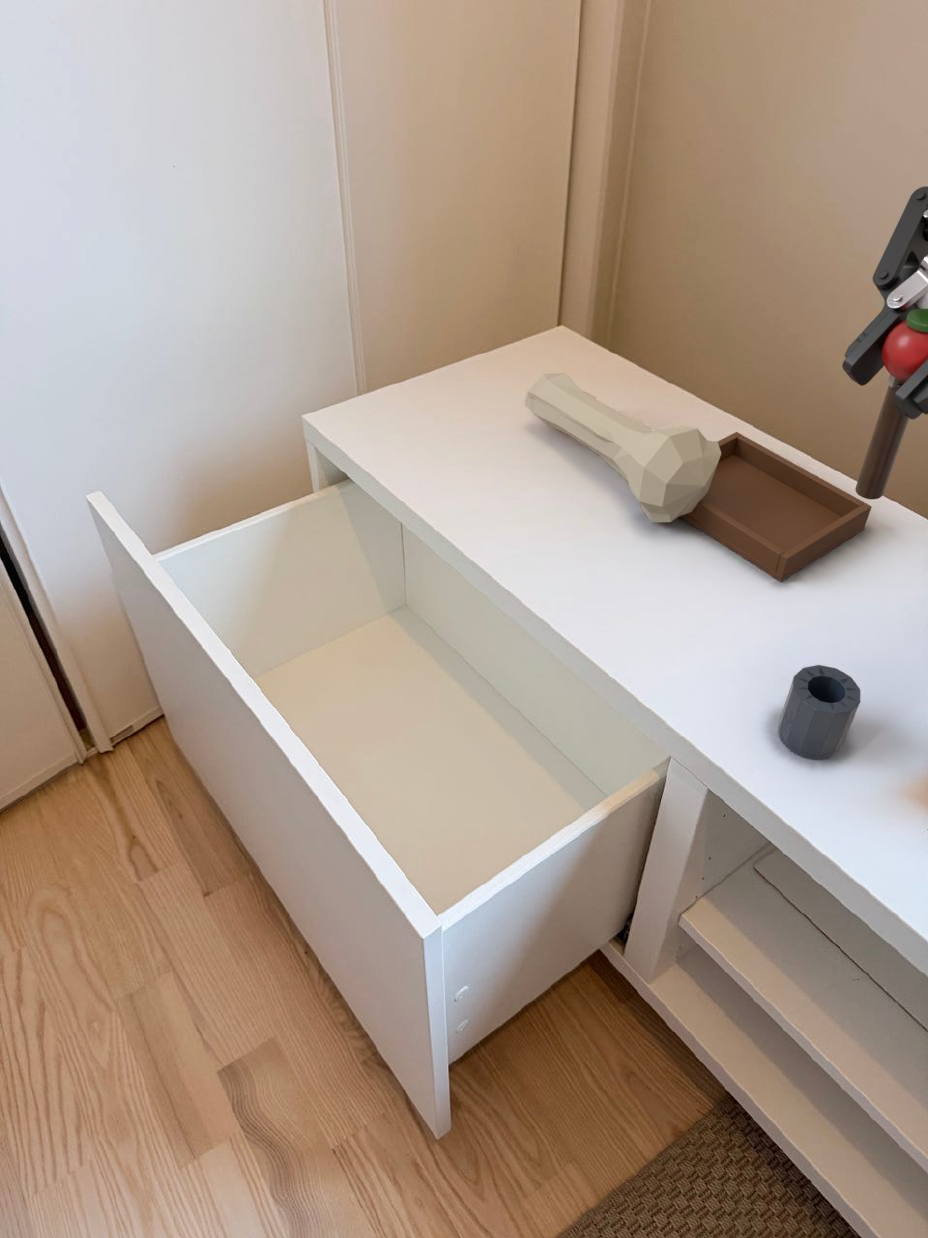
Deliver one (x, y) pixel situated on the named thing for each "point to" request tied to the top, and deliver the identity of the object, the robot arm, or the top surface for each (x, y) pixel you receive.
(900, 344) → the red ball joystick
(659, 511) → the faceted club
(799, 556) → the tray
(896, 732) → the top surface
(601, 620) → the top surface
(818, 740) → the holder
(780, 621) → the top surface
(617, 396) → the top surface
